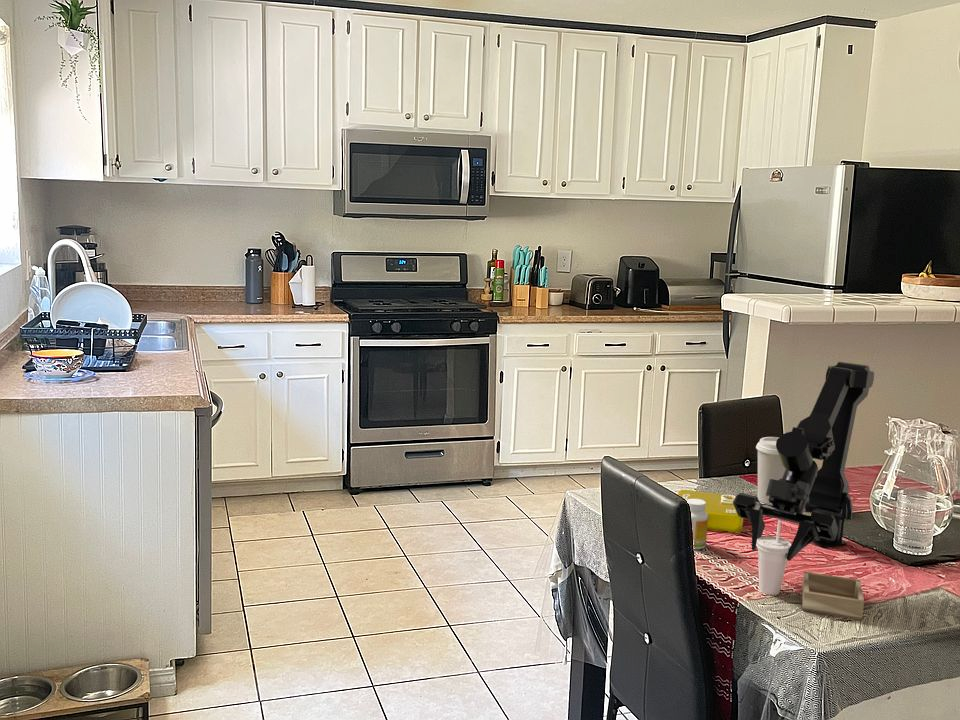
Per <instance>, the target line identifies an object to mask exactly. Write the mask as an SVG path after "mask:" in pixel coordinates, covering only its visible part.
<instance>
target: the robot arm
mask: <svg viewBox="0 0 960 720" xmlns="http://www.w3.org/2000/svg"><path fill="white" fill-rule="evenodd" d="M870 369H871V368H870V366H869V365H868V364H866V365H865V364H859V363H852V362H844V361H843V362H842V361H838V362H837V364H835V365H828V366H827V369H826V373H825V380H824V383H823V386H822V388H821V390H820V392H819V395H818V396H817V399H816V401H815V404H814V406H813V408H812V410H811V412H810V414H809V416H807V417H806V418H804V419H802V420H800V421H799V423H798V424H797V426H796V427H795V426H793V427H792V429H791V431H788V432H785V433H782V434H781V435H780V436H779V437H778V439H777V441H776V448H777V451H778V454H779V457H780V460H781V462H782V465H783V466H784V468H785V471H784V474H783V477H782V479H779V480H774V479H770V480H769V484H768V488H767V492H766V495H767V496H770V497H769V499H768V500H769V502H770V503H772V505H771V506H769V505H768V504H762V502H760V501H759V500H758V495H757V496H756V495H752V494H748V493H744V492H739V493H737V494H736V495H735V496H736V497H735V499H734V502H733V504H734V507H735V509H736V511H737V514H738V516H740V517H741V518H743V520H744V519H745V520H748V523H750V524H751V550H752V552H756V551H757V550H758V547H757V546H756V543H757V539H758V538H760V537H763V533H764V530H765V528H766V524H765V522H764V518H765V517H769V518H773V519H776V520H777V519H778V520H781V521H785V522H788V523H789V522H790V523H793V524H794V523H795V524H798V527H797V531H796V534H795V536H794V538H793V541H792V542H791V544H792V545H791V547H790V549H789V552H788V555H787V562H790V561H791V560H793V559H794V558H795V556H797V555H798V554H799V552H801V551H802V550H803V549H804V548H806V547H807V546H808V545H810V544H811V543H814V544H816V545H818V546H819V547H822V548H826V547H828V548H829V547H837V546H838V547H840V546H847V545H848V542H847V541H845V540H843V536H844V526H845V522H846V521H851V520H852V519H853V518H852V517H853V508H854V506H853V502H852V500H851V499H852V497H851V495H850V493H849V490H850V485H849V482H848V480H847V476H846V474H845V468H846V464H847V458H848V454H849V449H850V444H851V440H852V439H851V438H852V434H853V429H854V425H855V420H856V419H855V418H856V413H857V408H858V406H859V405H860V404H861V403H862V402H863V401H864V400H865V399H866V398H867V397H868V395H869V391H870V388H872V387H873V384H874V381H875V379H874V378H875V373H874V372H875V371H873V370H872V371H871V370H870ZM814 459H815V460H819V461H822V462H821V463H822V465H821V467H818V464H817V462H816V461H815V460H814ZM804 512H805V513H810V514H809V515H808V514H804Z"/></svg>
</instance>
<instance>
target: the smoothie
mask: <svg viewBox="0 0 960 720" xmlns="http://www.w3.org/2000/svg"><path fill="white" fill-rule="evenodd" d="M781 526H782V520H781V519H778V520H777V528H776V536H769V535H768V536H767V535H765V536H761V537H760V538H758V539H757V543H756V546H757V560H758V561H757V562H758V563H757V564H758V566H757V567H758V590H759V591H760V593H762V594H765V595H769V596H776V595H779V594H780V592H781V588H782V584H783V579H784V576H785V571H786V569H787V568H786V567H787V564H788V560H787V555H788V552H789V549H790V547H791V545H792V542H790V541H789V540H787V539H784V538H782V537H780V535H781Z"/></svg>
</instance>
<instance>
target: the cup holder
mask: <svg viewBox="0 0 960 720" xmlns="http://www.w3.org/2000/svg"><path fill="white" fill-rule="evenodd" d="M802 574H803V576H802V585H801V605H802V607H801V609H802V610H801V611H802V612H808V613H816V614H820V615H827V616H833V617H839V618H844V619H845V618H846V619H850V620H851V619H852V620H856V621H863V617H864V616H863V615H864V605H865V599H864V593H863V590H862V581H861V579H856V578H851V577H850V578H849V577H845V576H844V577H843V576H839V575H838V576H837V575H830V574H823V573H816V572H811V571H804V570H803V573H802Z"/></svg>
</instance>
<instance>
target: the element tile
mask: <svg viewBox="0 0 960 720" xmlns="http://www.w3.org/2000/svg"><path fill="white" fill-rule="evenodd" d="M677 495H679V496H681V497H683V498H684V499H685V500H686V501H687V500H688V499H700V500H703V501H705V502H706V508H705V510H704V511H706V512H707V514H708V526H707V531H708V530H710V531H715V530H717V532H723V531H728V532H727V533H731V532H740V533H742V532H743V528H744V518H741V517H740V516H738V514H737V511H736V509H735V507H734V504H733V502H734V499H735V497H736V495H734V494H725V493H716V492H707V491H701V490H700V491H698V490H691V489H681V490H678V492H677ZM741 531H742V532H741Z"/></svg>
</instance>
